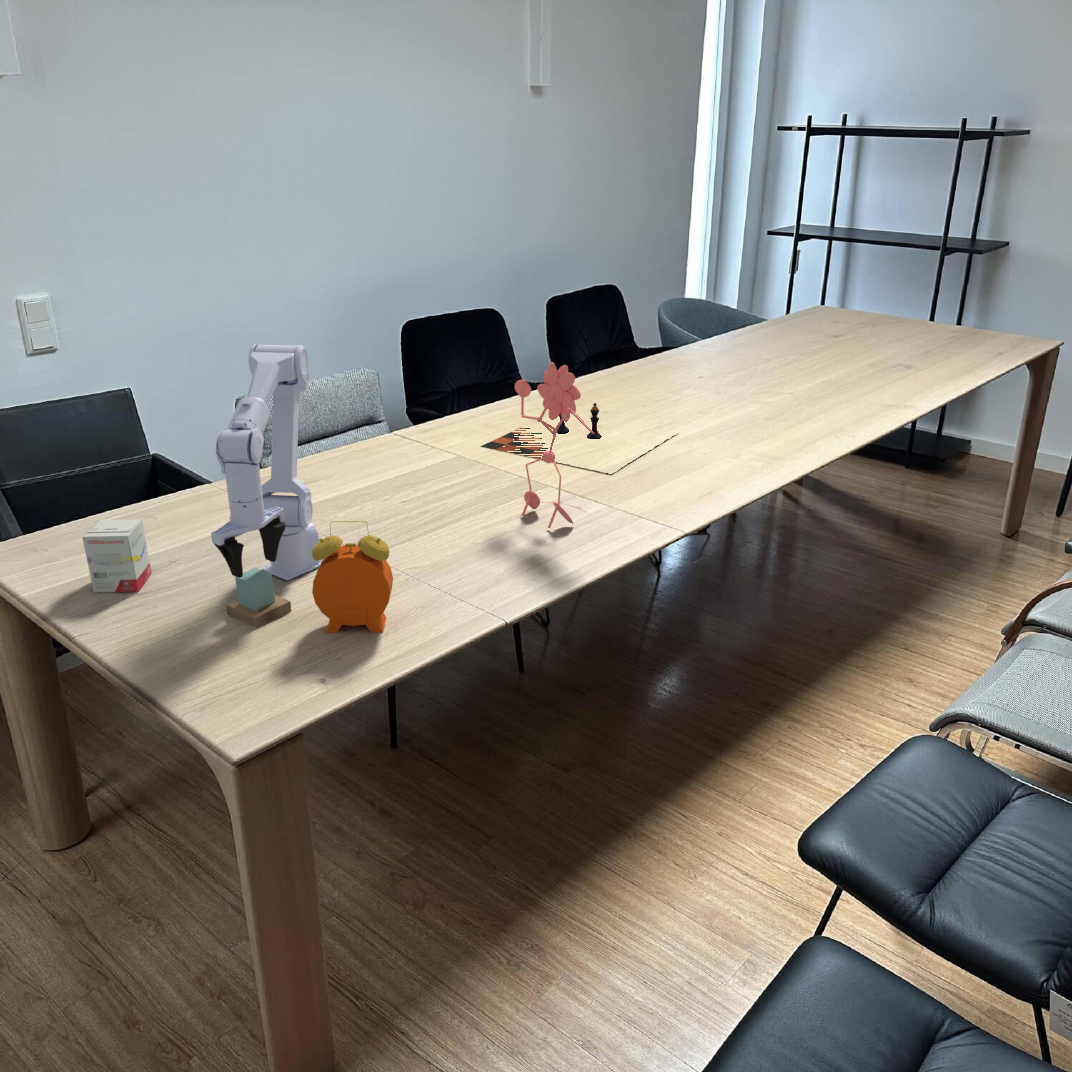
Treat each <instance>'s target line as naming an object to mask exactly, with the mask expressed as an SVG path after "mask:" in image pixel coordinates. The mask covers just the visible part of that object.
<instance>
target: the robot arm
mask: <svg viewBox="0 0 1072 1072" xmlns="http://www.w3.org/2000/svg"><path fill="white" fill-rule="evenodd" d="M248 353H249V354H248V367H249V371H250V374H251V381H250V385H249V388H248V392H247V396H246V397H243V398H241V399H240V400H239V401H238V402H237V405H236V407H235V410H234V412H233V414H232V417H231V419H230V422H229V423H228V427H227V429H226V428H225V429H223V431H221V432H219V433H218V435H217V437H216V441H215V455H216V458H217V461H218V463H219V465H220V470H221V472H222V473H221V474H223V475H225V482H226V490H227V491H226V492H227V498H228V505H229V514H230V516H229V521H227V522H226V523H225V524H223V525H222V526H220V528H218V529H215V530H214V531H212V532H211V533H210V535H211V542H212V544H213V545H214V546H215V547H216V548H217V550H218V551H219V552H220V554H221V555H222V557H223V558H224V560H225V562H226V563H227V566H228V568H229V571H230V573H231V576H233V577H238V578H240V577H242V576H243V573H244V569H243V558H242V557H243V550H244V546H245V545H244V544H243V543H241V542H238V539H236V538H237V537H239V536H241V535H244V534H247V533H249V532H253V531H254V532H255V531H256V530H257V531H258V532H259V535H260V537H261V538H260V539H261V543H262V549H263V555H264V557H265V560H267V561H269V564H266V565H264V566H262V567H261V570H263V571H265V572H268V573H270V574H272V576H274V577H277V578H280V579H282V580H283V581H290V580H292V579H294V578H297V577H299V576H301V575H303V574H306V573H308V572H311V571H313V570H315V569H317V568H319V566H320V564H321V562H322V560H319V561H315V560H314V558H313V556H312V550H313V548H314V547H315V545H316V544H317V543H318V542H319V541H320V540H319V539H320V537H319V536H320V535H319V532H318V529H317V528H316V526H315V525H314V523H312V520H313V510H314V509H313V503H312V493H311V490H310V488H309V487H308V486H307V485H306V484H305V483H303V482H302V481H300V480H299V478H298V476H297V475H298V474H297V473H298V447H299V446H298V445H299V444H298V443H299V416H300V415H299V411H300V409H299V407H300V396H301V393H302V392H304V391H306V390H308V387H309V380H310V379H309V376H310V358H309V355H308V351H307V349H306V348H305V346H304V345H302V344H297V345H296V344H295V345H294V344H262V343H261V344H260V343H254V344H253V345H251V347H250V349H249V352H248ZM271 399H272V423H271V425H272V428H271V431H272V432H271V433H272V434H271V465H270V471H271V472H270V479H268V480H267V481H265V482H264V483H262V479H261V470H260V462H261V459H262V457H263V454H264V453H263V451H264V442H265V438H264V435H263V434H264V432H265V429H266V427H267V424H268V421H269V419H270V416H271V410H270V408H269V405H268V404H269V402H270V400H271ZM277 493H285V494H286V495H283V494H279V495H278V494H277ZM287 493H288V494H294V495H287Z"/></svg>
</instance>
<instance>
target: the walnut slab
mask: <svg viewBox="0 0 1072 1072" xmlns="http://www.w3.org/2000/svg"><path fill="white" fill-rule="evenodd" d="M274 595H275V602H273V603H271V604H269V605H267V606H265V607H263V608H261V609H259V610H257V611H254V610H252V609H250V608H247V607H245V606H243V605H240V604H239V600H238V599H236V600H233V601H231V602H228V603H227V604H225V606H226V607H225V608H226V614H227V615H228V616H230V617H232V618H234V619H236V620H238V621H241V622H242V623H245V624H246V625H249V626H251V627H253V628H258V627H260V626H263V625H266V623H269V622H271V621H273V620H276V619H277V618H279V617H281V616H284V615H286V614H289V613H290V612H292V603H291V600H288V599H287V598H284V597H282V596H279V595H278V594H275V593H274Z"/></svg>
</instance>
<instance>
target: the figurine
mask: <svg viewBox="0 0 1072 1072" xmlns="http://www.w3.org/2000/svg"><path fill="white" fill-rule="evenodd" d="M557 369H558V368H557V366H556V365H555V363H554V362H552V361H551V362H550V363H549V364H548V367H547V370H545V371H544V372H543V382H544V383H540V384H538V385H537V387H536V389H537V392H538V394H539V395H540V397H541V398H542V399H543V401H542V406H543V410H542V412H541V414H540V415H539V417H538V416H537V417H535V416H529V415H525V414H524V413H525V412H524V408H525V407H524V405H525V401H524V400H525V398H527V397H529V396H530V395H531V393H532V388H531V386H530V384H529V383H528V382H527V381H526V380H525V379H524V378H523V379H519V380H517V381H516V382H515V383H514V390H515V392H516V393H517V394H518V396H519V397H520V399H521V407H520V411H521V412H520V415H521V418H523V419H529V420H534V421H536V420H537V421H538V422H541V423H542V424H543V425H544V426H545V427H546V428H547V429H548V430H549V431H550V432H551V433H552V434H553V439H552V443H551V447H550V451H546V452H544V454H543V456H542V458H540V459H535V460H533V461H531V462H528V463H526V464H525V468H526V469H525V470H526V474H527V475H526V476H527V480H528V481H527V482H528V487H529V490H527V491H525V493H524V495H523V500H524V502H525V505H524V508H523V510H522V513H521V515H520V517H521V516H524V517H525V514H526V512H527V509H528V506H529V507H530V508H531V509H532V510H533V509H535V510H536V509H537V508H538V507H540V505H541V502H540V501H541V499H540V497H539V496H538V494H537V493H536V492H534V491H533V490H532V486H531V485H532V484H531V481H530V480H531V479H530V472H529V467H528V466H529V465H532V464H534V463H537V462H540V461H543V462H544V463H546V464H551V463H553V462H554V463H553V464H554V467H555V469H556V472H557V474H558V476H559V478H558V479H559V482H558V498H557V502H558V503H556V501H553V506H554V507H555V508H554V511H553V513H552V516H551V518H550V521H549V524H548V526H547V528H550V529H551V527H552V525H553V522H554V520H555V516H556V514H557V512H558V513H559V514H560V515H561V516H562V517H563V518H564V520H566V521H567V522H568V523H569V522H570V523H572V524H574V521H573V520H572V518H571V516H570V515H569V514H568V513H567V511H566V510H564V508H563V507H562V506H561V487H562V475H561V472H560V471H559V467H558V464H557V463H555V460H554V459H555V455H554V453H553V452H552V451H551V450H552V446H553V443H554V440H555V437H556V433H557V429H558V428H559V426H560V425H561V423H562V422H563V420H564V421H565V422H567V421H568V420H569V418H570V413H571V414H573V415H574V416H575V417H576V418H577V419H578V420H579V421H580V422H581V423H582V424H583V425H584V426H585V427H586V428H587V429H588V430H589V431H590V432H591V433H592V434H594V432H593V431H592V430H591V429H590V428H589V427H588V426H587V425H586V424H585V423H584V421H583V420H582V419H581V418H580V417H579V416H578V415H579V414H578V415H577V413H576V412H577V405H576V402H575V401H578V400H579V399H581V395H582V394H581V392H580V390H579V388H578V387H577V386H575V385H574V384H575V382H576V376H575V375H574V374H573V373H572V372H569V366H568V365H566V364H563V365H562V366H560V367H559V369H558V370H557ZM547 411H548V415H549V418H550V419H551V420H554V419H556V418H557V417H558V416H559V414H561V417H562V419H561V420H560V422H559V423H558V425H557V426H556V428H554V427H552V426H551V425H549V424H547V423H546V422H544V421H542V417H544V416H545V414H546V412H547ZM549 427H550V428H551V429H553V431H552V430H551V429H550V428H549ZM570 523H569V524H570Z"/></svg>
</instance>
